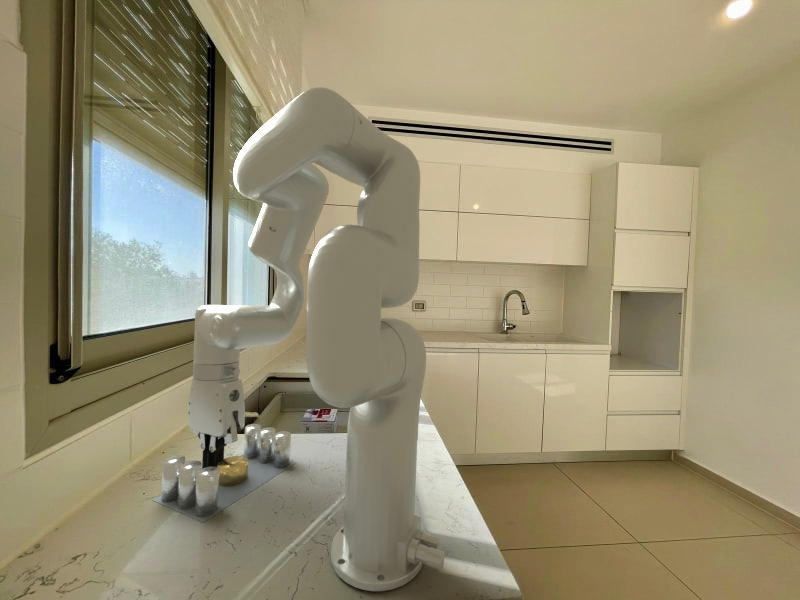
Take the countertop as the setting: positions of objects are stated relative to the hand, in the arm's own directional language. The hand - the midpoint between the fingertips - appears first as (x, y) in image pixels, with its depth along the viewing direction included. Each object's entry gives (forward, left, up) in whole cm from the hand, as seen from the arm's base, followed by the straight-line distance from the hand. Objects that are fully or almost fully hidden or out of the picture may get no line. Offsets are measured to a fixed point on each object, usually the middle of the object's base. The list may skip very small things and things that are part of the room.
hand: (212, 469), depth 61 cm
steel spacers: (-5, 0, -1) cm, 5 cm away
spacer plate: (-5, 0, -1) cm, 5 cm away
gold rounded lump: (-5, 0, -1) cm, 5 cm away
